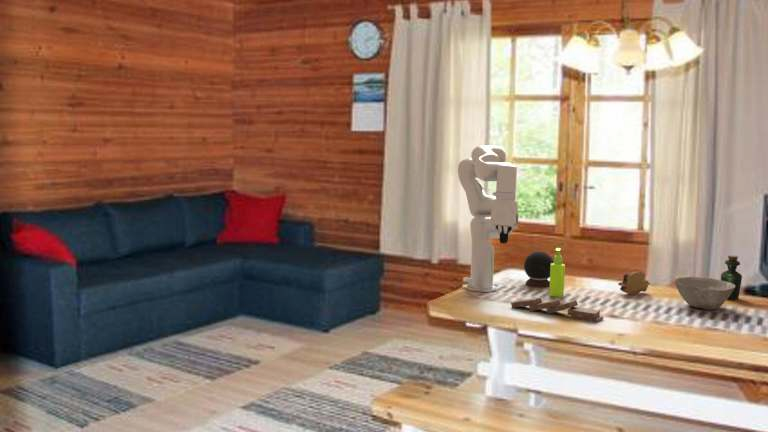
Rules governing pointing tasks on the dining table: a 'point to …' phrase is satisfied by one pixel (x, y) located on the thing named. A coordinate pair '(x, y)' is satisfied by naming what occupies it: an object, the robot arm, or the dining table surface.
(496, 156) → the robot arm
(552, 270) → the soap dispenser
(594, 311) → the domino
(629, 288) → the wooden carving
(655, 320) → the dining table surface
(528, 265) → the black ball on stand
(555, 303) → the domino
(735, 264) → the potion bottle
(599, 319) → the domino
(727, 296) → the ceramic bowl
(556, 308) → the domino
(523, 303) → the domino
